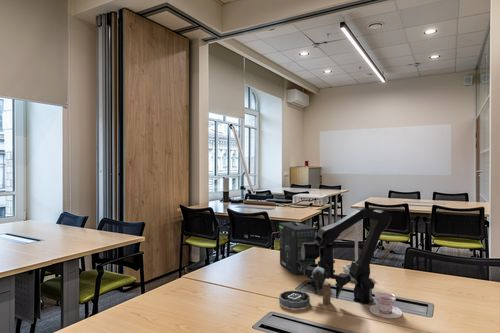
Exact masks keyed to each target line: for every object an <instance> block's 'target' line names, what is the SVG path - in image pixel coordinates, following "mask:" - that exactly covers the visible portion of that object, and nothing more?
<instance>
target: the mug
mask: <svg viewBox="0 0 500 333" xmlns="http://www.w3.org/2000/svg"><path fill="white" fill-rule="evenodd" d="M310 266H311V267H315V268H316V267H317V266H318V263H316V264H310V265H308V267H310ZM309 282H310V286H311V288H313V289H314V287H313V284H312V282H311V280H310V279H309ZM325 282H326V280H325V281H323V282H321V281H319V286H318V289H323V284H324V283H325Z"/></svg>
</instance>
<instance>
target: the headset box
mask: <svg viewBox="0 0 500 333" xmlns="http://www.w3.org/2000/svg"><path fill="white" fill-rule="evenodd" d="M278 225H279V226H278V227H279V232H278V233H279V234H278V235H279V264H280V265H281V266H282V267H283V266H284V267H283V268H284V269H286V270H288V271H290V273H292V274H294V275H295V276H299V275H300V276H301V275H304V270H305V269H306V268H308V265H310V264H317V263H316V259H310V260H303V259H302V256H301V248H302V246H303V243H313V240H314V239H315V237H316V228H315V227H314V226H310V225H308V224H304V223H301V222H299V221H290V222H279V223H278Z"/></svg>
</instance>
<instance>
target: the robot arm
mask: <svg viewBox="0 0 500 333" xmlns="http://www.w3.org/2000/svg"><path fill="white" fill-rule="evenodd" d="M365 218H367V219H369V231H368V234H367V236H366V238H365V241H364V244H363V247H362V249H361V252H360V254H359V256H358V260H357V261H356V262H355V261H352V262H351V263H350V264H351V267H350V268H349V270H350V272H349V274H345V273H344V272H341V273H339V274H335V273H336V269H335V267H334V266H335V263H336V260H335V258H334V257H335V256H334V253H335V252H334V249H339V247H340V246H339V245H337V243H336V240H338V238H339V237H340V235H341V234H342V233H343V232H344V231H346V230H348V229H349V228H351V227H353V226H355V224H356V223H357V222H359V223H360V221H362V220H363V219H365ZM391 220H392V216H391V214H390V212H388V211H385V210H381V209H374V210H372V209H368V208H366V207H363V206H359V207H358V208H357V209H355V210H354V211H352V212H351V213H349V214H348V215H346V216H343V217H342V218H341V219H339V220H338V221H336V222H335V223H331V224H328V225H324V226H322V227H320V228H319V229H318V231H317V234H316V235H315V239H314V240H313V243H303V246H302V248H301V256H302V259H303V260H310V259H315V260H317V259H318V258H319V260H318V261H317V264H318V266H317V267H316V268H315V267H311V266H310V267H308V268H306V269H305V270H304V274H303V276H304V277H306V279H308V280H309V281H310V280H311V282H312V284H313V287H314V288H313V287H312V288H313V289H314V292H315V294H318V293H319V288H318V286H319V281H321V282H323V281H325V282H326V279H327V280H329V279H332V280H335V282H336V283H334V285H335V299H336V300H338V299H339V298H340V294H341V292H342V290H343V288H344V286H346V285H347V284H349V283H351V278H352V279H353V281H352V282H353V283H355V284H354V287H353V297H354V298H353V301H354V302H358V303H363V304H366V305H369V304H370V303H372V301H373V300H374V298H375V297H373V289H374V288H375V282H373V281H372V279H371V278H370V275H371V265H370V264H371V261H372V260H373V257H374V254H375V251H376V249H377V245H378V243H379V241H380V238H381V237H382V236H381V234H382V233H383V232H384V231H385V230H386V229H387V228H388V227H389V225H390V223H391V222H392V221H391Z"/></svg>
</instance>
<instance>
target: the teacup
mask: <svg viewBox="0 0 500 333" xmlns="http://www.w3.org/2000/svg"><path fill="white" fill-rule="evenodd" d="M374 298H375V299H376V302H377V304H372V305H370V306H369V308H368V309H369V312H370V313H371V314H373V315H374V316H377V317H380V318H384V319H398V318H401V317H402V316H403V311H402V310H401V309H400V308H398V307H396V306H393V305H394V304H395V302H396V300H397V297H396V295H395V294H393V293H391V292H386V291H384V292H383V291H381V292H376V293H375V294H374Z"/></svg>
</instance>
